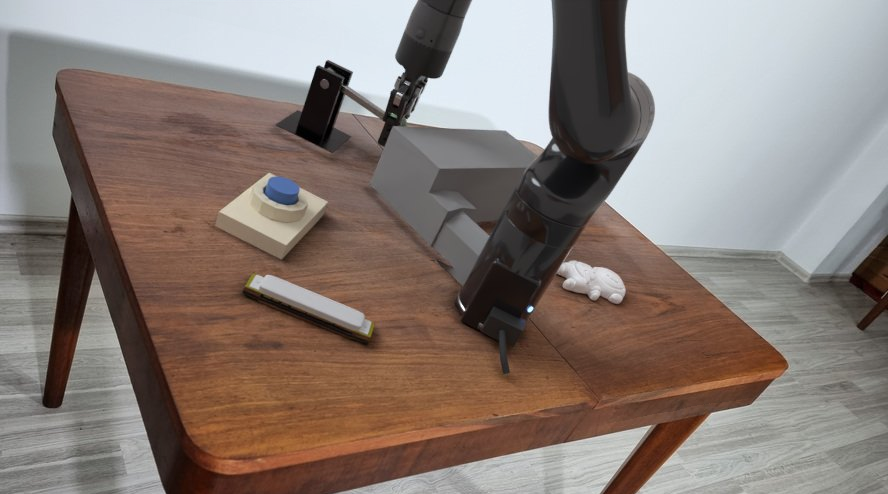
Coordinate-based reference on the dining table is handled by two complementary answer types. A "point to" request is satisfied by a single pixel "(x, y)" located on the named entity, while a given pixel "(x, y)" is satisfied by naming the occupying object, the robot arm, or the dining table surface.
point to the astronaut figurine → (592, 281)
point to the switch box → (270, 218)
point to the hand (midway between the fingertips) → (387, 141)
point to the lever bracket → (321, 109)
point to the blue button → (282, 190)
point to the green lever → (364, 101)
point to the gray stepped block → (450, 185)
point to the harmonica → (309, 307)
